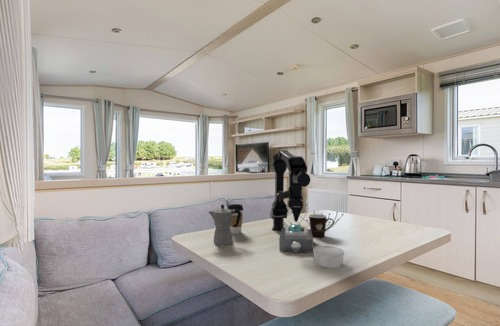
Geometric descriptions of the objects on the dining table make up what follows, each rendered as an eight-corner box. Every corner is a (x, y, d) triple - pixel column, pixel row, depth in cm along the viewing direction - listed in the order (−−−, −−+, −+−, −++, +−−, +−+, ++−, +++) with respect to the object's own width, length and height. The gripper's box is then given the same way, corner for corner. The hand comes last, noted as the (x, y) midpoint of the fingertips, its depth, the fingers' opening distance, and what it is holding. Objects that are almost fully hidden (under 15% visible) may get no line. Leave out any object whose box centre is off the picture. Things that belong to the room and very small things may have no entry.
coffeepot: (207, 246, 123) (207, 206, 122) (210, 239, 132) (209, 203, 132) (241, 245, 123) (241, 206, 123) (241, 239, 133) (241, 202, 132)
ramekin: (335, 257, 108) (335, 244, 107) (350, 268, 96) (350, 253, 96) (308, 259, 106) (308, 246, 105) (320, 271, 95) (320, 256, 94)
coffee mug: (307, 237, 134) (306, 217, 134) (311, 232, 142) (311, 213, 142) (331, 240, 129) (330, 219, 129) (334, 235, 137) (334, 215, 136)
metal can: (290, 242, 124) (290, 224, 124) (301, 243, 123) (301, 224, 123) (289, 246, 119) (289, 226, 119) (301, 246, 118) (300, 227, 118)
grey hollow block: (281, 239, 131) (281, 224, 131) (311, 240, 128) (311, 225, 128) (279, 252, 113) (278, 234, 113) (313, 254, 111) (313, 236, 111)
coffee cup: (225, 233, 142) (224, 205, 142) (232, 229, 150) (231, 202, 149) (239, 235, 139) (239, 206, 138) (246, 231, 147) (245, 203, 146)
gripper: (279, 182, 132) (279, 214, 132) (275, 186, 113) (276, 223, 114) (302, 182, 130) (302, 214, 130) (302, 186, 111) (303, 224, 112)
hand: (296, 219), depth 122 cm, fingers open, 9 cm apart
